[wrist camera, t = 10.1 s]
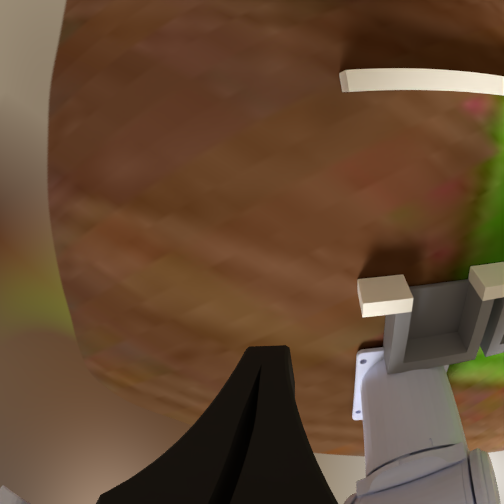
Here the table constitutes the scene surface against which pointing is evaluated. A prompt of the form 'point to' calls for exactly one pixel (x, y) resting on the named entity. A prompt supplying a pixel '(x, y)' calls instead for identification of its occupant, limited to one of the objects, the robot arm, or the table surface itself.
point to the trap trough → (439, 294)
